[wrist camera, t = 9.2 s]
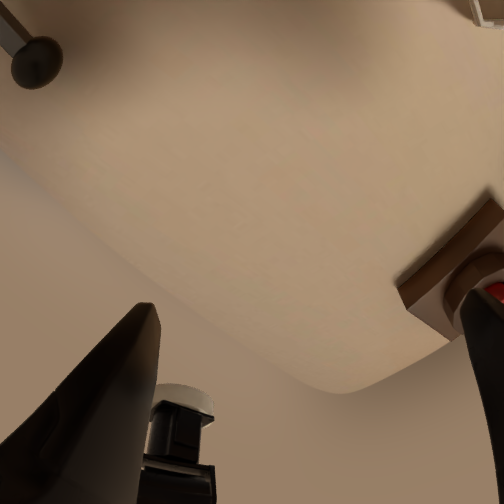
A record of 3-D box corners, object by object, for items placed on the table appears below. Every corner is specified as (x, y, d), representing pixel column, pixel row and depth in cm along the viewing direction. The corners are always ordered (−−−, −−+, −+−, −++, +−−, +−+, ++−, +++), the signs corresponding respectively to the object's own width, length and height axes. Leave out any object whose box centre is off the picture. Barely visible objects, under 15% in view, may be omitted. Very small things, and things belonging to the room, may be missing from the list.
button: (477, 323, 20) (486, 339, 19) (460, 307, 19) (470, 325, 18) (510, 293, 18) (520, 309, 17) (497, 273, 17) (509, 290, 16)
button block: (442, 324, 25) (458, 357, 22) (396, 289, 23) (414, 329, 19) (520, 251, 21) (545, 281, 17) (490, 197, 18) (522, 228, 15)
